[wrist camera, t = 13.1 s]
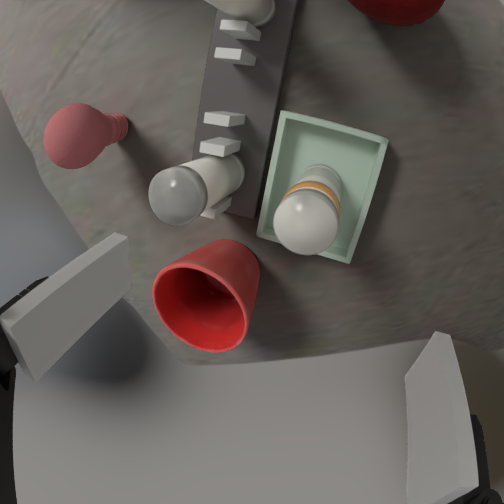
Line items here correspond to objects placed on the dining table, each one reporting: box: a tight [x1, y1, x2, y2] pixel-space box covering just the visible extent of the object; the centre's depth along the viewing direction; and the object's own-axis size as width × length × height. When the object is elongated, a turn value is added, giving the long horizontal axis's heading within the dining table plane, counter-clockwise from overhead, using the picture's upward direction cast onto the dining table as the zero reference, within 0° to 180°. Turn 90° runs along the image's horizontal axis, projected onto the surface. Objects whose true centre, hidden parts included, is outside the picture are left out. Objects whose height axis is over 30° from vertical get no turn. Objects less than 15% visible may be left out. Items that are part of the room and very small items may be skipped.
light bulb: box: [44, 103, 128, 169], centre depth 29 cm, size 7×7×12 cm
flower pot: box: [152, 240, 260, 353], centre depth 34 cm, size 11×11×10 cm
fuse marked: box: [273, 164, 342, 255], centre depth 26 cm, size 5×5×11 cm
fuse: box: [149, 153, 246, 226], centre depth 27 cm, size 4×4×11 cm
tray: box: [256, 110, 389, 264], centre depth 30 cm, size 13×10×2 cm
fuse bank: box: [192, 0, 298, 220], centre depth 26 cm, size 27×8×6 cm, turn 170°
